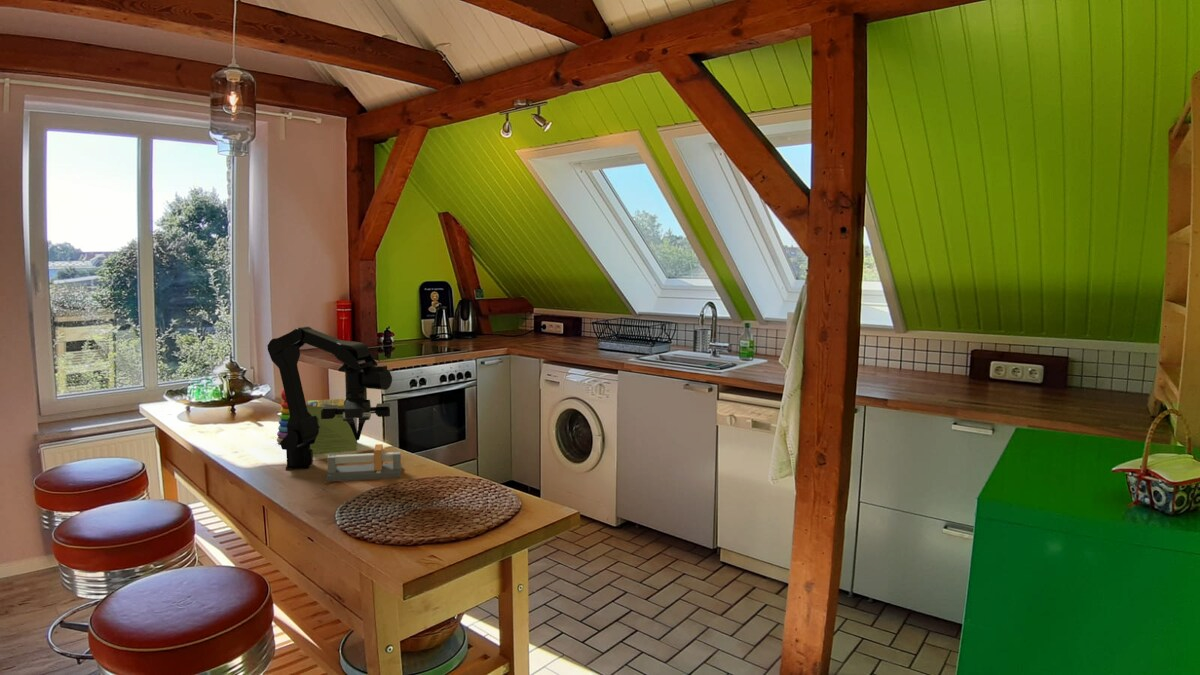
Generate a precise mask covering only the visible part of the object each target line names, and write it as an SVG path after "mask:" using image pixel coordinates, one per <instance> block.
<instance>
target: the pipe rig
mask: <svg viewBox="0 0 1200 675" xmlns="http://www.w3.org/2000/svg"><path fill="white" fill-rule="evenodd" d="M401 454H402V452H401V451H400V450H399V451H391V452H389V451H388V452H383V453H382V461H383V462H389V463H383V466H382V470H375V471H374V452H371V453H370V452H369V453H348V454H328V455H327V459H326V460H327V474H326V482H341V481H342V482H343V481H358V480H359V481H360V480H376V479H377V480H380V479H381V480H382V479H395V478H396V479H397V478H401V474H402V473H401V472H402V461H401V460H402V459H401V458H402V455H401ZM391 462H392V463H391ZM357 463H369V464H357ZM370 463H373V464H370ZM338 464H350V465H338ZM351 464H353V465H351Z"/></svg>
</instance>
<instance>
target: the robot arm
mask: <svg viewBox="0 0 1200 675" xmlns="http://www.w3.org/2000/svg"><path fill="white" fill-rule="evenodd" d="M305 345H309V346H312V347H314V348H317V349H319V350H321V351H322V350H323V351H324V352H327V353H330V354H332V355H333V356H335V358H336V359H337V360H338V361H340V362H341V363H343V364H342V365H341V366H340V367H339V368H338V369H337V370H338V371H339V372H344V379H345V380H344V381H345V399H346V400H345V403H344V405H345V406H344V408H338V405H325V406H324V407H323V409H322V410H321V419H333V418H334V417H335V416H336V415H343V421H347V422H348V424H349V425H350V427H351V429H352V431H353V434H354V436H355V439H356V440H357V441H360V438H361V436H362V431H363V427H364V425H365V423H366V421H369V420H370V419H371V416H372V414H375V415H376V416H377V417H379V418H381V417H383V418H385V417H391V415H392V404H390V402H388V403H386V402H383V403H381V402H380V403H376V406H371V399H368V392H367V391H368V389H371V390H372V389H373V390H382V391H383V390H384V391H387V390H388V389H389V388H390V387H391V386H392V382H393V375H392V374H391V372H390V370H389V369H388V366H387V365H378V363H377V361H376V360H375V358H374V357H373V355H372V353H371V352H370V349H369V347H368V345H367V344H365V343H364V342H359V341H350V340H341V339H339V338H336V337H334V336H332V335H329V334H326V333H324V332H320V331H319V330H316V329H313V328H312V327H310V326H301V327H297V328H295V329H293V330H292V331H290V332H288V333H285V334H284V335H282V336H279V337H275V338H272V339H271V340H270V341H269V343H268V344H267V352H268V354H269V357H270V359H271V362H272V363H273V364H274V365H275V366H276V367H277V368H278V370H279V373H280V378H281V382H282V387H283V390H284V392H285V396H286V400H287V405H288V409H289V413H290V417H289V420H288V424H287V435H286V437H285V438H284V439H283V440H282V441H281V442H280V443H279V445H280V447H281V449H282V450H285V451H286V453H285V454H286V466H285V470H288V471H290V470H303V469H304V470H306V469H310V467H311V465H313V463H314V454H313V450H312V449H311V447H310V444H314V443H315V440H316V437H317V435H318V434H319V428H320V427H319V425H318V421H317V416H316V415H315V416H312V415H311V414H310V413H309V412H308V410H307V406H306V405H307V402H306V399H305V395H304V394H305V393H304V390H303V384H302V381H301V376H300V372H299V368H298V362H299V360H300V357H301V350H300V349H301V348H303V347H304V346H305ZM356 418H357V419H358V422H357V423H356Z"/></svg>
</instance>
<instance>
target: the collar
mask: <svg viewBox="0 0 1200 675" xmlns="http://www.w3.org/2000/svg"><path fill="white" fill-rule="evenodd" d="M373 453H374V462H373V464H374V471H375V470H382V466H383V464H384V461H382V453H384V444H382V443H381V444H380V443H379V444H378V443H377V444H375V445H374V449H373Z"/></svg>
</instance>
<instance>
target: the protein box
mask: <svg viewBox="0 0 1200 675" xmlns="http://www.w3.org/2000/svg"><path fill="white" fill-rule="evenodd" d="M345 400H346V398H332V399H330V398H329V399H316V400H315V399H313V400H307V402H306V406H307V410H308V412H309V413H310V414H311V415H312V416H315V415H316V416H317V421H318V425H319V427H320V428H319V434H318V435H317V437H316V440H315V443H314V444H310V447H311V449H312V450H313V455H314V454H328V453H341V452H344V451H345V452H354V451H356V452H357V450H358V440H356V439H355V436H354V434H353V431H352V429H351V427H350V425H349V424H348V422H347V421H343V415H336V416H335V417H334V418H333V419H321V410H322V409H323V407H324V406H325V405H338V408H344V406H345V405H344V403H345ZM356 423H357V424H358V418H356Z"/></svg>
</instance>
